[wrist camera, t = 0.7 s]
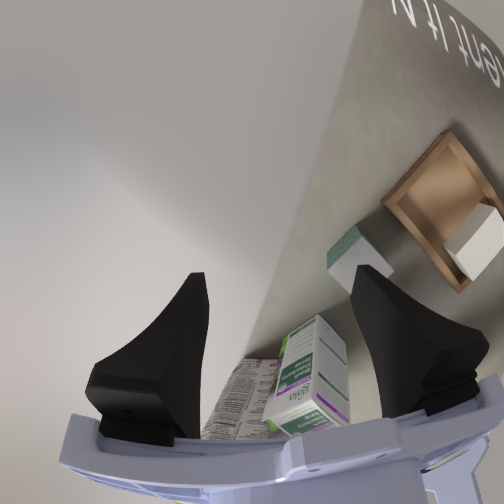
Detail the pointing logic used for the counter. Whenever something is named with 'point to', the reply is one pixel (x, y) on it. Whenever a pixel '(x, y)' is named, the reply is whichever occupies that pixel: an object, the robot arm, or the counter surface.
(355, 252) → the tea tin
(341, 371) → the syrup box
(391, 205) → the wooden tray
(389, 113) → the counter surface
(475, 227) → the white rectangular block
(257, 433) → the juice carton
